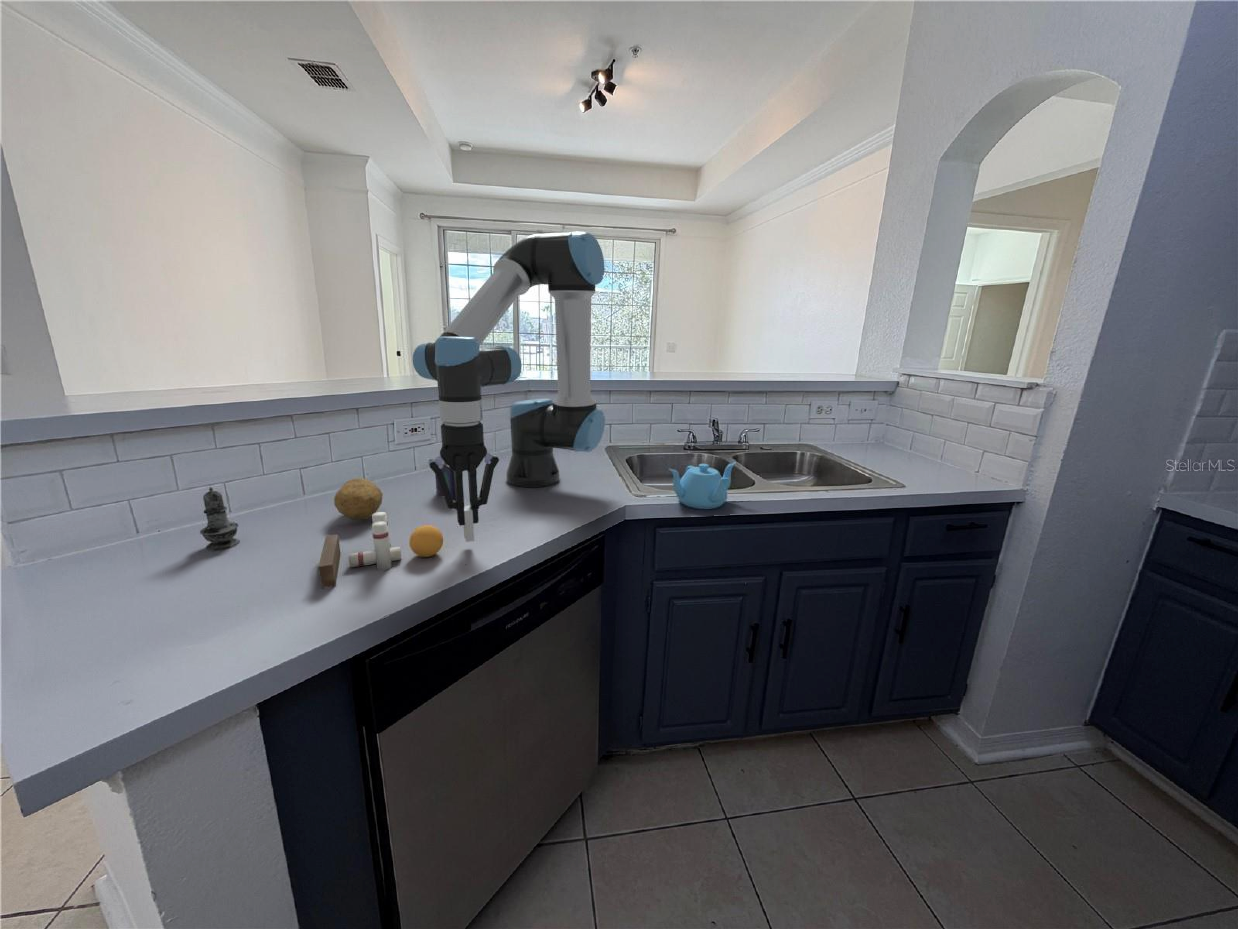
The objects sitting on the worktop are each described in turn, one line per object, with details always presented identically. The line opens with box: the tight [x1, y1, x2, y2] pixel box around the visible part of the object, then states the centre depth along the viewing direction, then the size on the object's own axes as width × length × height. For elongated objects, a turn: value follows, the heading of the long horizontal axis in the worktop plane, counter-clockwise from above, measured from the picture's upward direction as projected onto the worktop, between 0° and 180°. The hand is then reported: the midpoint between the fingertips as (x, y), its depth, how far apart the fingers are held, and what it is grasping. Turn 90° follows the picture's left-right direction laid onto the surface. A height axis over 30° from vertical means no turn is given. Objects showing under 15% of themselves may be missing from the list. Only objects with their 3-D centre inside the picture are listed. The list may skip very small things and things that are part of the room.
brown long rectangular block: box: [318, 534, 342, 589], centre depth 86 cm, size 2×13×4 cm, turn 26°
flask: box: [434, 460, 456, 501], centre depth 123 cm, size 9×3×11 cm, turn 50°
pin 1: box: [371, 511, 391, 547], centre depth 91 cm, size 2×2×8 cm
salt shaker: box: [199, 486, 241, 552], centre depth 93 cm, size 6×6×12 cm
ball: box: [409, 524, 444, 558], centre depth 92 cm, size 6×6×6 cm
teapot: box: [668, 461, 737, 510], centre depth 124 cm, size 15×15×10 cm
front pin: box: [348, 546, 402, 568], centre depth 89 cm, size 2×2×8 cm
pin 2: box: [371, 522, 393, 572], centre depth 87 cm, size 2×2×8 cm
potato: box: [333, 477, 383, 521], centre depth 109 cm, size 10×14×8 cm
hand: (469, 538), depth 96 cm, fingers closed
